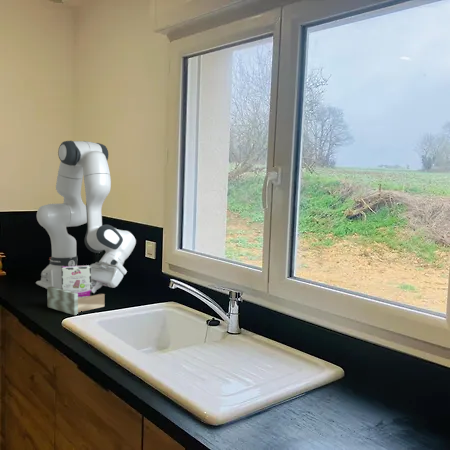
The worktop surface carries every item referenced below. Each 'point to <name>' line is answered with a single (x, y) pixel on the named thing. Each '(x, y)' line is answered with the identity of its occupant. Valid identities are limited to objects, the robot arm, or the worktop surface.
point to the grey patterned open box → (72, 301)
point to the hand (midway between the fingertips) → (90, 291)
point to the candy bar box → (77, 280)
